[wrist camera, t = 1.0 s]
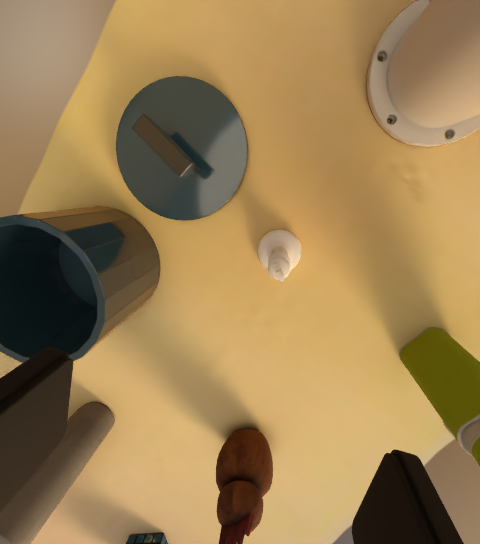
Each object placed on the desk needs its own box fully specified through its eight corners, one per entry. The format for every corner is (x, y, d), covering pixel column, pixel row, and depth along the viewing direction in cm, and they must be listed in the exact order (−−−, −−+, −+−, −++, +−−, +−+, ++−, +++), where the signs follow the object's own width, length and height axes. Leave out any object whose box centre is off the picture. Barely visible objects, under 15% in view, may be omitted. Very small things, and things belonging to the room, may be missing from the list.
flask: (86, 391, 44) (-65, 548, 25) (120, 414, 44) (-2, 587, 25) (45, 456, 48) (-111, 634, 29) (77, 477, 48) (-57, 666, 29)
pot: (98, 182, 36) (7, 179, 24) (182, 264, 37) (136, 300, 25) (37, 260, 40) (-69, 292, 28) (116, 333, 41) (48, 393, 29)
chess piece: (290, 221, 34) (293, 234, 25) (308, 261, 35) (319, 288, 26) (250, 241, 36) (238, 261, 26) (269, 279, 36) (265, 311, 27)
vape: (392, 355, 37) (512, 535, 18) (435, 322, 35) (617, 481, 16) (414, 375, 37) (555, 574, 18) (457, 343, 36) (662, 525, 17)
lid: (177, 46, 31) (152, 12, 25) (276, 151, 33) (275, 142, 27) (96, 155, 35) (57, 148, 29) (188, 244, 37) (169, 256, 30)
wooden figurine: (231, 460, 44) (207, 592, 30) (218, 426, 43) (187, 547, 28) (278, 453, 43) (277, 588, 28) (266, 418, 41) (259, 540, 27)
